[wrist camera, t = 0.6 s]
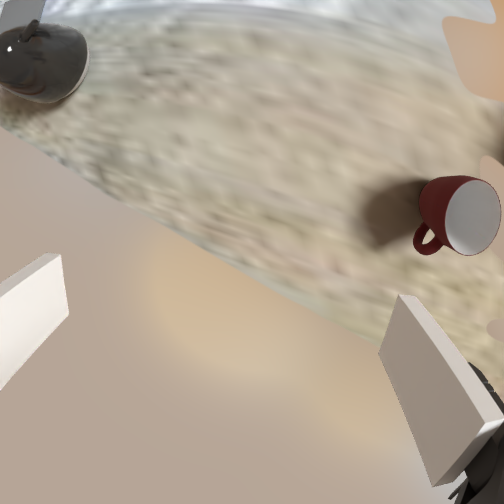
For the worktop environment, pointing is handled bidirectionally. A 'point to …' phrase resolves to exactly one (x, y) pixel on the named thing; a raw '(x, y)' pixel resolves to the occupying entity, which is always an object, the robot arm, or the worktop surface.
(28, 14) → the mat
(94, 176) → the worktop surface
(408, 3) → the worktop surface
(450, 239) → the mug
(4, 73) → the pump dispenser
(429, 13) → the worktop surface
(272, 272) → the worktop surface
